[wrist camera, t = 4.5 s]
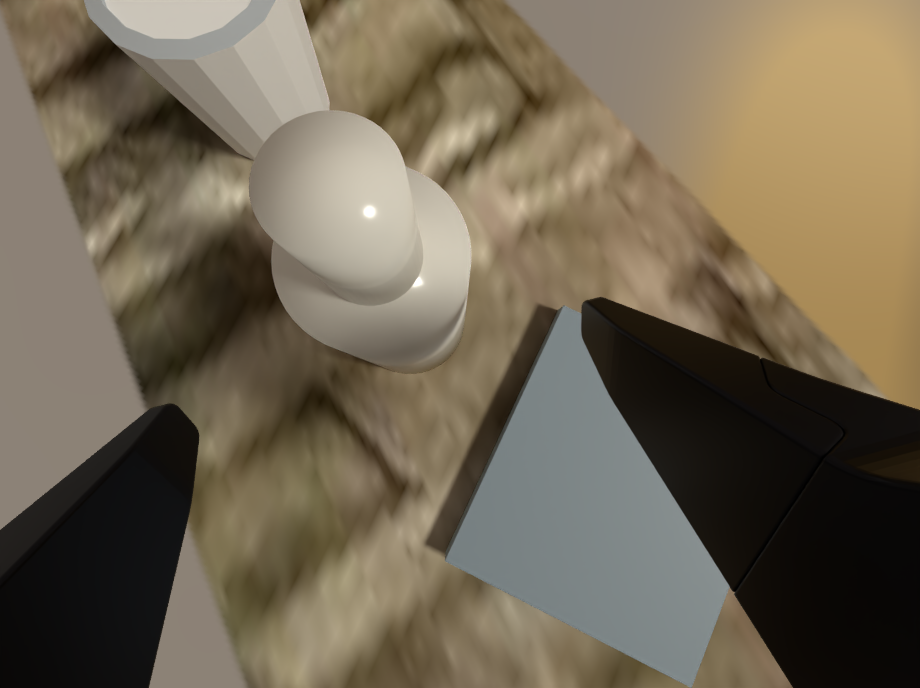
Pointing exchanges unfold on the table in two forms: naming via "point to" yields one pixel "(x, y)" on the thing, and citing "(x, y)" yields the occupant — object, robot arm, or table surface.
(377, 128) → the cream bottle
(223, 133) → the shot glass
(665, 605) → the slate board
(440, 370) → the table surface
